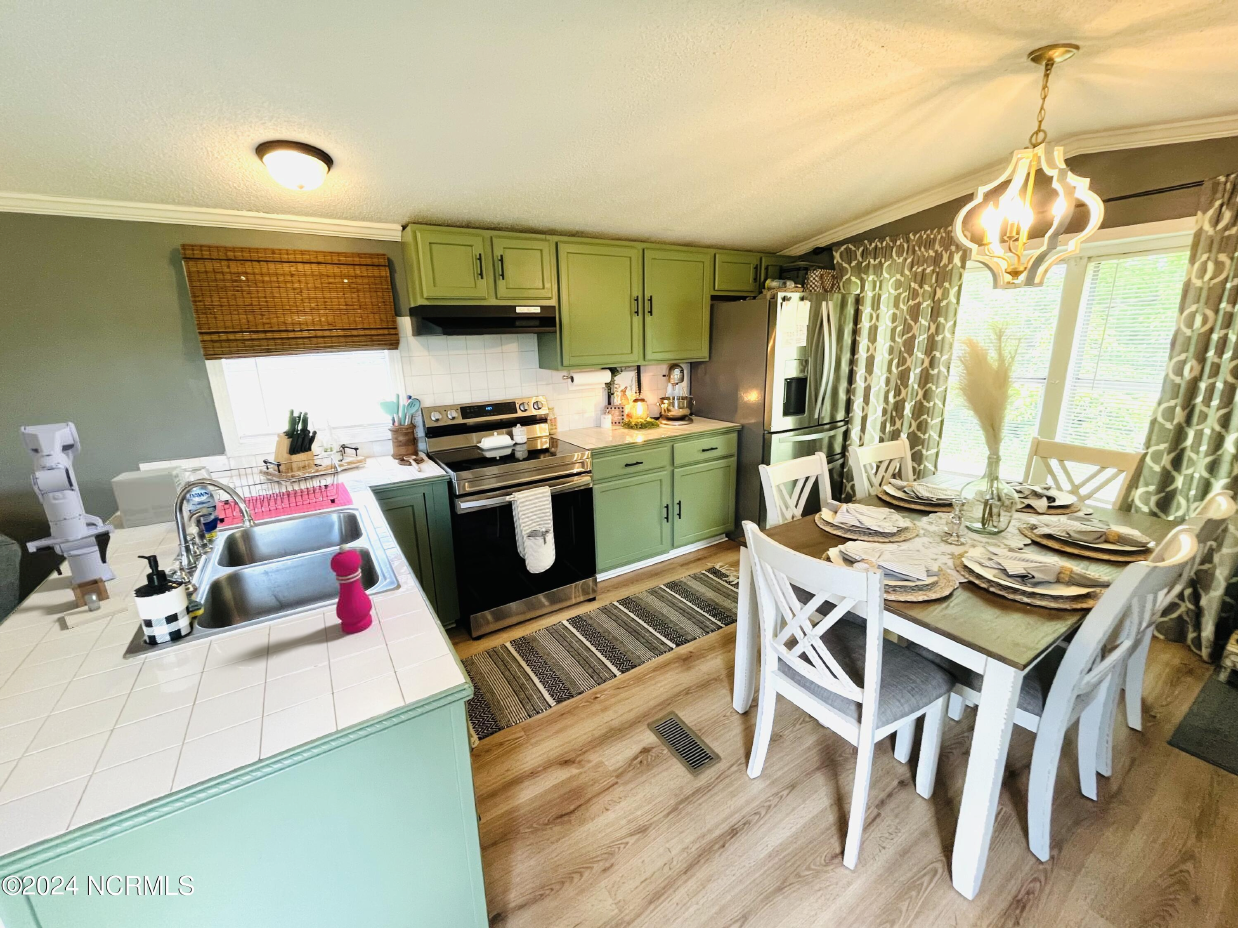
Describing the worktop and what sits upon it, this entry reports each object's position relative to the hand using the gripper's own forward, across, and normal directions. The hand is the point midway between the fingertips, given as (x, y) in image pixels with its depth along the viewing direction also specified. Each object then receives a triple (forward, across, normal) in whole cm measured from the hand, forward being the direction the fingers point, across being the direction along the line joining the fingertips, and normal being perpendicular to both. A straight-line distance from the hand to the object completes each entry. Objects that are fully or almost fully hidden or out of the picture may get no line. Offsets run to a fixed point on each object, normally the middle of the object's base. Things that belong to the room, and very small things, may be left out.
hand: (82, 568), depth 124 cm
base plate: (+9, 0, -8) cm, 13 cm away
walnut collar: (+9, 0, 0) cm, 9 cm away
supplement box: (+10, +25, +67) cm, 72 cm away
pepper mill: (+10, +35, -67) cm, 76 cm away
